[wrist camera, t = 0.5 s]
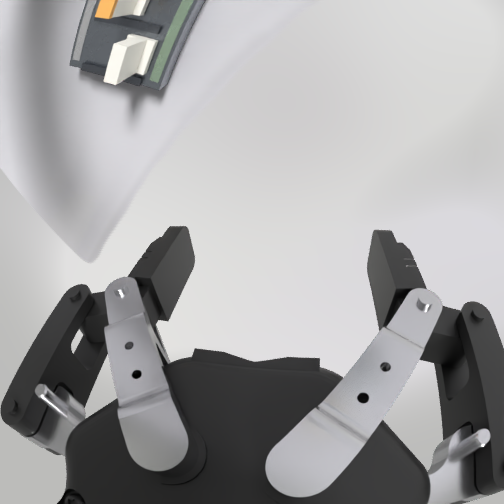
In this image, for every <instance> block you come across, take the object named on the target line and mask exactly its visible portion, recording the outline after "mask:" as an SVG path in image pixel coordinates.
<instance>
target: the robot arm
mask: <svg viewBox="0 0 504 504" xmlns="http://www.w3.org/2000/svg"><path fill="white" fill-rule="evenodd" d="M194 263H195V256H194V251H193V247H192V243H191V239H190V234H189V230H188V228H187V227H186V226H170V227H169V228H168V229H167V231H166V232H165V233H164V235H163V236H162V237H159V238H158V239H156V240H155V241H154V242H152V243H151V244H150V246H149V247H148V248H147V250H146V252H145V253H144V254H143V255H142V258H140V260H139V261H138V262H137V264H136V265H135V267H134V268H133V270H132V271H131V272H130V274H129V275H128V277H122V278H119V279H116V280H115V281H113V282H112V283H110V284H109V286H108V287H107V288H106V290H105V291H104V292H99V293H93V294H92V293H91V291H90V289H89V288H88V286H87V285H83V284H80V285H76V286H74V287H72V288H70V289H69V290H68V291H67V292H66V293H65V294H64V295H63V297H62V298H61V300H60V301H59V303H58V304H57V306H56V307H55V309H54V310H53V312H52V313H51V315H50V317H49V318H48V319H47V321H46V323H45V324H44V326H43V327H42V329H41V331H40V332H39V334H38V335H37V337H36V339H35V340H34V342H33V344H32V346H31V347H30V349H29V351H28V353H27V354H26V356H25V358H24V360H23V362H22V363H21V365H20V367H19V369H18V371H17V373H16V375H15V377H14V379H13V380H12V383H11V385H10V387H9V389H8V391H7V393H6V395H5V397H4V399H3V401H2V405H1V416H2V419H3V421H4V422H5V423H6V424H8V425H9V426H10V427H12V428H13V429H15V430H16V431H17V432H19V433H20V434H21V435H22V436H23V437H25V438H27V439H28V440H30V441H32V442H33V443H35V444H36V445H38V446H40V447H42V448H45V449H46V450H48V451H50V452H52V453H53V454H56V455H63V456H65V457H66V458H65V459H66V470H67V480H66V489H65V493H64V495H63V497H62V499H61V500H60V501H59V502H58V503H57V504H462V503H466V502H470V501H473V500H477V499H480V498H483V497H486V496H489V495H492V494H494V493H497V492H500V491H503V490H504V348H503V345H502V343H501V340H500V337H499V334H498V332H497V329H496V326H495V324H494V321H493V319H492V316H491V314H490V312H489V311H488V309H487V308H486V307H485V306H483V305H482V304H480V303H478V302H467V303H465V304H464V306H463V308H462V309H461V311H460V310H456V309H452V308H448V307H445V306H442V302H441V300H440V298H439V297H438V296H437V295H436V294H435V293H434V292H432V291H430V290H427V288H426V286H425V283H424V281H423V278H422V276H421V274H420V271H419V269H418V267H417V265H416V262H415V260H414V258H413V255H412V253H411V251H410V250H409V249H408V248H407V247H406V246H405V245H404V244H403V243H397V242H396V239H395V237H394V235H393V233H392V231H388V230H374V232H373V236H372V241H371V246H370V252H369V257H368V263H367V272H368V277H369V281H370V286H371V290H372V295H373V300H374V305H375V310H376V315H377V320H378V326H379V333H378V334H377V336H376V337H375V339H374V340H373V341H372V342H371V344H370V345H369V346H368V348H367V349H366V351H365V352H364V353H363V354H362V356H361V357H360V358H359V359H358V361H357V362H356V363H355V365H354V366H353V367H352V368H351V369H350V371H349V372H348V373H347V374H346V376H345V377H344V378H343V377H341V376H340V375H338V374H336V373H334V372H332V371H330V370H327V369H324V368H321V367H320V359H319V358H296V357H286V358H280V359H273V360H266V361H259V362H252V361H249V360H246V359H243V358H240V357H237V356H234V355H231V354H228V353H225V352H219V351H211V350H203V349H195V350H194V353H193V355H192V357H188V358H184V359H179V360H176V361H174V362H170V360H169V358H168V355H167V352H166V350H165V347H164V345H163V342H162V339H161V336H160V334H159V331H158V328H157V326H156V323H157V321H158V320H163V321H168V320H169V319H170V316H171V314H172V312H173V310H174V308H175V306H176V303H177V301H178V299H179V297H180V295H181V293H182V290H183V288H184V286H185V284H186V282H187V280H188V278H189V276H190V274H191V272H192V270H193V267H194ZM79 329H80V330H81V332H82V333H83V337H82V339H81V341H80V343H79V345H78V346H77V349H76V350H75V352H74V354H73V353H72V351H71V343H72V340H73V339H74V337H75V335H76V333H77V331H78V330H79ZM107 354H108V356H109V361H110V367H111V372H112V376H113V381H114V385H115V390H116V394H117V399H115V400H114V401H113V402H111V403H109V404H108V405H106V406H105V407H103V408H102V409H100V410H99V411H97V412H96V413H94V414H93V415H91V416H89V417H88V418H86V419H85V409H84V408H85V405H86V403H87V400H88V398H89V395H90V393H91V390H92V388H93V386H94V383H95V381H96V379H97V376H98V374H99V372H100V370H101V367H102V365H103V363H104V360H105V358H106V356H107ZM419 360H423V361H428V362H432V363H434V365H435V370H436V376H437V383H438V390H439V398H440V406H441V415H442V427H443V441H442V442H441V443H440V444H439V445H438V446H437V447H436V449H435V451H434V454H433V460H432V465H431V467H430V469H429V471H428V472H427V471H426V469H425V467H424V466H423V464H422V463H421V462H420V461H419V460H418V459H417V458H416V457H415V455H414V454H413V453H412V452H411V451H410V450H409V449H408V448H407V447H406V446H405V444H404V443H403V442H402V441H401V440H400V439H399V438H398V437H397V436H396V434H395V433H394V432H393V431H392V430H391V429H390V428H389V427H388V425H387V424H386V423H385V422H384V421H383V418H384V417H385V415H386V414H387V412H388V411H389V409H390V408H391V406H392V405H393V403H394V401H395V400H396V398H397V397H398V395H399V393H400V392H401V391H402V389H403V387H404V386H405V384H406V382H407V380H408V379H409V377H410V375H411V374H412V372H413V370H414V368H415V366H416V365H417V363H418V361H419Z"/></svg>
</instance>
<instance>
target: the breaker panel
mask: <svg viewBox="0 0 504 504" xmlns="http://www.w3.org/2000/svg"><path fill="white" fill-rule="evenodd" d="M204 1H205V0H150V1H149V4H148V6H147V8H146V11H145V13H144V15H142V16H138V15H133V14H131V15H124V16H119V17H113V18H111V19H105V18H99V17H95V15H96V12H97V9H98V6H99V3H100V0H87V1H86V4H85V7H84V10H83V13H82V16H81V20H80V23H79V27H78V30H77V34H76V38H75V42H74V46H73V51H72V55H71V60H70V66H74V67H79V68H81V70H83V71H87V72H92V73H95V74H99V75H103V76H105V73H106V69H107V66H108V62H109V58H110V55H111V51H112V48H113V45H114V43H117V42H120V41H123V40H126V39H127V36H128V35H129V34H135V35H139V36H143V37H147V38H151V39H154V40H158V43H157V46H156V49H155V51H154V54H153V57H152V59H151V62H150V65H149V68H148V71H147V73H146V74H144V75H141V74H138V73H135V74H133V75H132V76H130V77H128V78H127V79H125V80H123V81H124V82H127V83H131V84H134V85H137V86H140V85H144V86H147V87H150V88H153V89H156V90H158V91H159V90H160V89H161V88H163V87H164V86H165V85H166V84H167V83H168V81H169V78H170V76H171V73H172V70H173V68H174V66H175V63H176V61H177V58H178V56H179V54H180V51H181V49H182V47H183V44H184V42H185V40H186V38H187V36H188V33H189V31H190V29H191V27H192V25H193V23H194V21H195V19H196V17H197V15H198V13H199V11H200V9H201V7H202V5H203V3H204Z"/></svg>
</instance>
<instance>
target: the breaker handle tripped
mask: <svg viewBox="0 0 504 504" xmlns="http://www.w3.org/2000/svg"><path fill="white" fill-rule="evenodd" d="M149 1H150V0H100V3H99V6H98V9H97V12H96V15H95V17H99V18H105V19H111V18H113V17H119V16H124V15H131V14H133V15H138V16H142V15H144V13H145V11H146V8H147V6H148V4H149Z"/></svg>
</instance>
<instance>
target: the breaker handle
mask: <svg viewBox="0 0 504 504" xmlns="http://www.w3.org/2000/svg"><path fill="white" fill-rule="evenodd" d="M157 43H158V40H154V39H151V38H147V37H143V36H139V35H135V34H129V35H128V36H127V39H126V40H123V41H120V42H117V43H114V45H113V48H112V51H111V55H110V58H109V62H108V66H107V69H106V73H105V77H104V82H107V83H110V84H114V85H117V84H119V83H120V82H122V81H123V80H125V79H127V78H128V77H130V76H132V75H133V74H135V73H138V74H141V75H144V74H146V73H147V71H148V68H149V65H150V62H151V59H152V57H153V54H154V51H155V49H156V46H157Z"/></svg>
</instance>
